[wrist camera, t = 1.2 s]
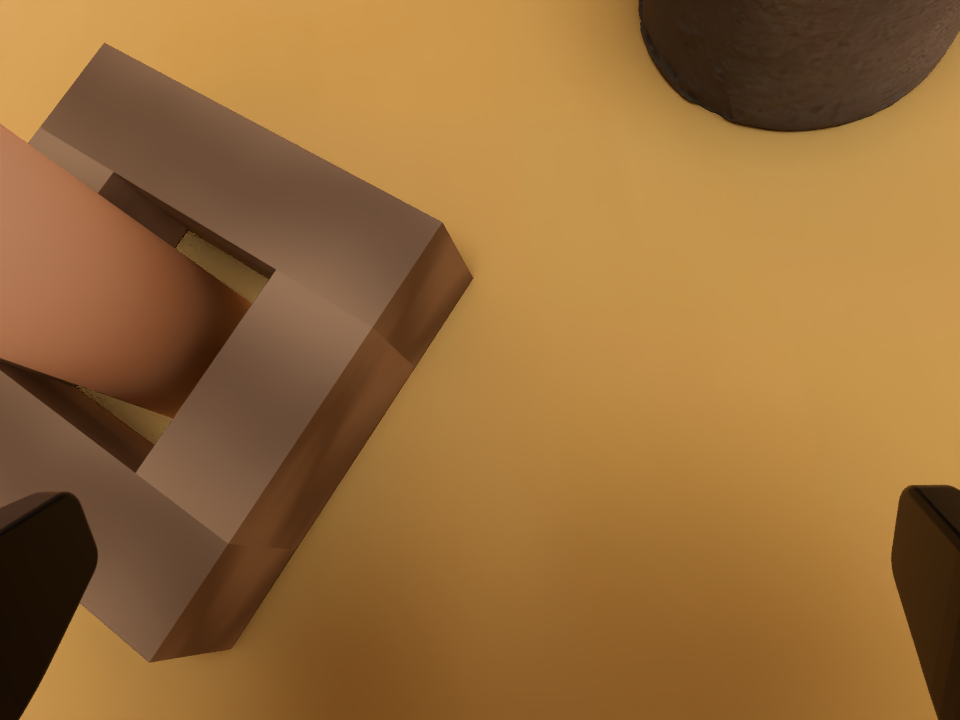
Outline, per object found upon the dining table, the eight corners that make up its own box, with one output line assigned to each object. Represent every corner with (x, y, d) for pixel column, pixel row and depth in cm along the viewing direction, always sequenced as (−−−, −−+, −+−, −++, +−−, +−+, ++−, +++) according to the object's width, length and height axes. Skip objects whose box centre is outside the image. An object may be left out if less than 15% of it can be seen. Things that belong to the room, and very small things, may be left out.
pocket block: (230, 648, 23) (149, 662, 19) (-50, 420, 27) (-163, 394, 23) (472, 277, 24) (442, 222, 21) (176, 114, 28) (104, 42, 24)
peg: (210, 447, 25) (-221, 314, 12) (111, 377, 26) (-365, 193, 14) (292, 327, 25) (-42, 85, 13) (191, 264, 26) (-198, -10, 14)
